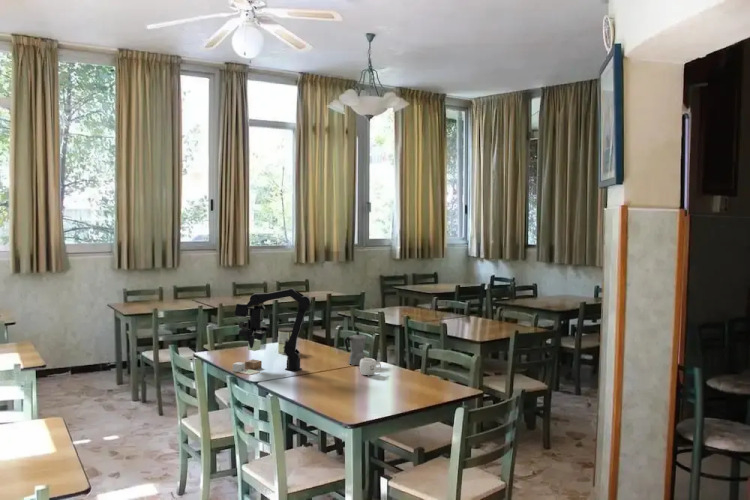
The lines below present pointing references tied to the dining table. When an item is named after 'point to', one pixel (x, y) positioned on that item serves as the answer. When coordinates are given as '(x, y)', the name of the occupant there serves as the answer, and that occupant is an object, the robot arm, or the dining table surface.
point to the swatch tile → (249, 372)
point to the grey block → (238, 367)
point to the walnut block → (253, 364)
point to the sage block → (255, 345)
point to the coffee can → (283, 338)
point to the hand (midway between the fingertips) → (254, 347)
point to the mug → (368, 366)
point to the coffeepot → (355, 348)
